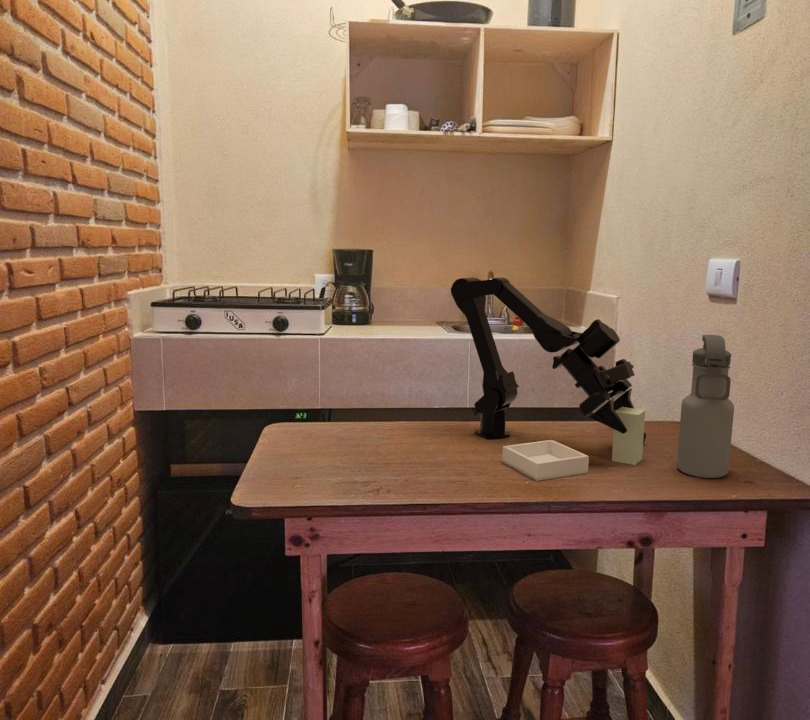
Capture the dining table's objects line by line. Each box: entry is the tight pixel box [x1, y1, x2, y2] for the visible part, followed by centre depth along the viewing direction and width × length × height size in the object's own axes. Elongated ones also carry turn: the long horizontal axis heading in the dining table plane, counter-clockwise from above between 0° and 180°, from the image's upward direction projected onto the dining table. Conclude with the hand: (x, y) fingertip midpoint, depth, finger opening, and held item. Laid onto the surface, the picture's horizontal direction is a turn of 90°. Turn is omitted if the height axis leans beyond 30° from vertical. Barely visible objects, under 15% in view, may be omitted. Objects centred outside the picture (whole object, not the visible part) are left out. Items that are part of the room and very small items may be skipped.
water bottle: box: [676, 334, 735, 479], centre depth 135 cm, size 10×10×28 cm
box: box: [501, 439, 590, 482], centre depth 140 cm, size 13×13×4 cm
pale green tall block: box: [611, 407, 646, 466], centre depth 144 cm, size 5×5×11 cm
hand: (632, 427), depth 143 cm, fingers open, 9 cm apart
